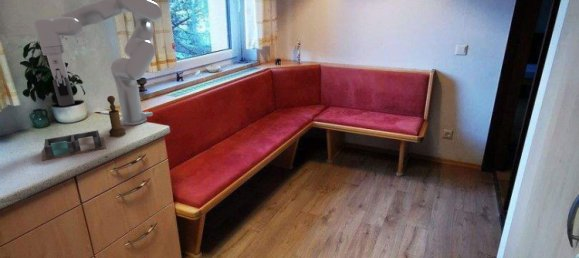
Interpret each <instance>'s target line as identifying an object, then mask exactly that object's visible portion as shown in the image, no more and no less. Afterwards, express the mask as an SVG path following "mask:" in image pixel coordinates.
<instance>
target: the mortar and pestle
mask: <svg viewBox="0 0 579 258" xmlns="http://www.w3.org/2000/svg"><path fill="white" fill-rule="evenodd" d="M106 100H107V102H108V103H109V105H110V106H109V109H110V110H109V111H108V115H109V120H110V125H111V126H110V127H111V128H110V129H109V132H108V133H109V136H110V137H112V138H118V137H119V138H121V137H123V136H126V134H127V132H126V129H125V128H124V127H123V126H122V125H121V122H120V120H121V117H120V111H119V110H118V109H116V105H115V100H116V98H115V96H113V95H108V96H107V99H106Z"/></svg>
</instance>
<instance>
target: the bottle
mask: <svg viewBox="0 0 579 258" xmlns="http://www.w3.org/2000/svg"><path fill="white" fill-rule="evenodd" d="M59 70H60V69H59ZM51 76H52V77H53V74H52V73H51ZM55 77H56V76H55ZM61 78H63V77H61ZM57 79H58V78H57ZM64 80H65V84H66V85H67V89H68V93H69V95H65V96H60V94H59V91H58V87H57V86H58V85H57V80H55V79H54V78H53V80H52V84H53V88H54V92H55V96H56V99H57V102H58V103H57V104H58V105H59V106H60V107H61V106H71V105H74V104H76V103H75V98H74V93H73V90H72V86H71V81H70V79H69V77H68V78H64ZM63 83H64V82H63Z"/></svg>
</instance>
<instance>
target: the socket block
mask: <svg viewBox="0 0 579 258" xmlns="http://www.w3.org/2000/svg"><path fill="white" fill-rule="evenodd" d="M104 149H105V150H106V149H107V145H106V141H105V139H104V136H100V133H99V130H92V131H85V132H79V133H74V134H69V135H63V136H57V137H51V138H50V137H49V138H45V139H44V144H43V149H42V154H41V155H42V156H41V161H42V162H46V161H49V160H55V159H59V158H65V157H69V156H74V155H80V154H85V153H90V152H95V151H100V150H101V151H102V150H104Z"/></svg>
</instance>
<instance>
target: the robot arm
mask: <svg viewBox="0 0 579 258" xmlns="http://www.w3.org/2000/svg"><path fill="white" fill-rule="evenodd" d="M124 13H132V15H133V18H134V20H135V28H134V31H133V33H131V36H130V37H129V38H128V40H127V42H126V44H125V46H124V53H125V55H126V56H127V57H128V58H126V57H119V58H115V59H114V60H113V61H112V63H111V65H110V70H111V75H112V77H113V81H114V83H115V87H116V91H117V99H118V103H119V107H120V108H119V109H120V114H121V117H122V118H120V122H121V126H137V125H141V124H143V123H145V122H147V120H148V118H147V117H152V116H154V113H153V112H152V111H150V112H149V111H145V112H144V111H143V108H142V102H141V97H140V90H139V84H138V81H139V80H140V79H142V78H143V77H144V75H145V74H146V72H147V71H148V69H149V67H150V65H151V64H152V61H153V60H154V58H155V54H156V48H155V45H154V44H153V43H152V42H151V41H152V39H153V37H154V33H155V29H154V23H153V22H156V21H158V20H160V19H161V18H162V14H163V12H162V8H161V7H160V5H159V4H158V3H156V2H155V1H152V0H96V1H95V2H92V3H90V4H89V3H88V4H87V5H84V6H81V7H78V8H75V9H73V10H70V11H68V12H66V13H63V14H60V15H58V16H57V17H54V18H50V17H49V18H37V19H35V20H34V27H35V30H36V34H37V38H38V41H39V45H40V49H41V53H42V56H46V57H47V62H48V66H49V68H50V71H51V75H52V74H53V76H52V77H53V79H55V80H57V85H58V86H57V87H58V91H59V94H60V96H65V95H69V93H68V89H67V85H66V84H65V80H64V78H68V79H69V74H68V71H67V67H66V63H65V59H64V54H65V53H66V52H65V49H64V44H63V40H62V37H75V36H78V35H80V34H81V33H82V30H83V27H87V26H90V25H98V24H102V23H105V22H108V21H110V20H111V19H113V18H115V17H118V16H119V15H122V14H124ZM59 69H60V70H59ZM55 76H56V77H55ZM61 77H63V78H61ZM57 78H58V79H57ZM137 80H138V81H137ZM63 82H64V83H63Z"/></svg>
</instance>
